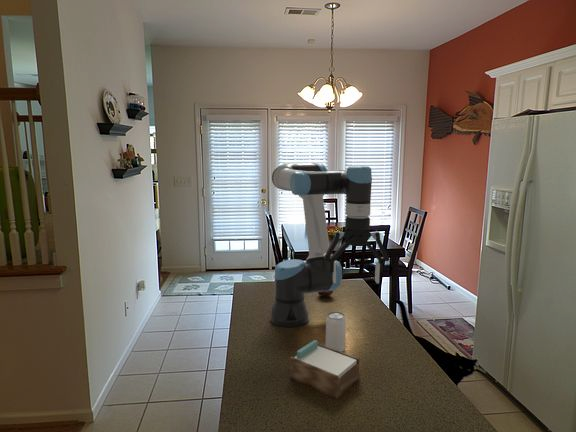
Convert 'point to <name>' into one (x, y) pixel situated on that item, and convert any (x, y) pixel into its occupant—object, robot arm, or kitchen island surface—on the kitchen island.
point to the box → (324, 376)
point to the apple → (325, 293)
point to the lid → (325, 359)
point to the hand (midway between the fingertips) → (355, 282)
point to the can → (335, 331)
